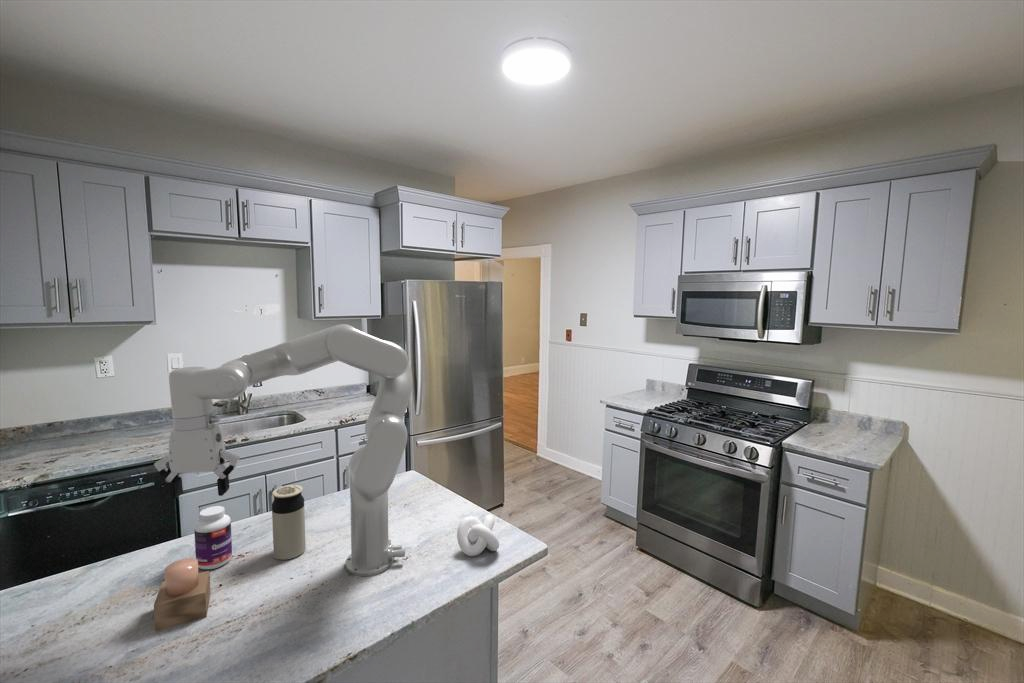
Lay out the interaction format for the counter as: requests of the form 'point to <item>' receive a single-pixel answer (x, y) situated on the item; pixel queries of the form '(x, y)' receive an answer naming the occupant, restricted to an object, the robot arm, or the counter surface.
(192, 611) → the walnut box
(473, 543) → the white knot sculpture
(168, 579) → the peach rounded cylinder
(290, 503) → the travel mug
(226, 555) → the pill bottle
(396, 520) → the counter surface
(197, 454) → the robot arm
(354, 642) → the counter surface
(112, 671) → the counter surface
